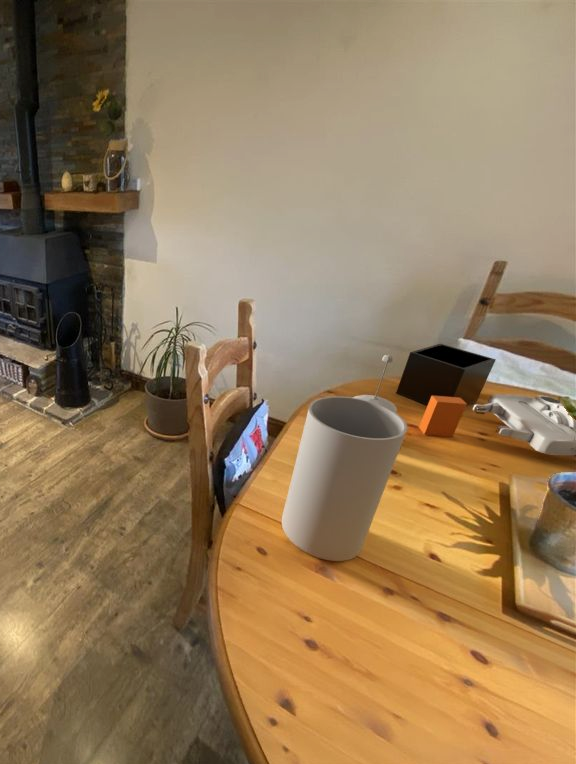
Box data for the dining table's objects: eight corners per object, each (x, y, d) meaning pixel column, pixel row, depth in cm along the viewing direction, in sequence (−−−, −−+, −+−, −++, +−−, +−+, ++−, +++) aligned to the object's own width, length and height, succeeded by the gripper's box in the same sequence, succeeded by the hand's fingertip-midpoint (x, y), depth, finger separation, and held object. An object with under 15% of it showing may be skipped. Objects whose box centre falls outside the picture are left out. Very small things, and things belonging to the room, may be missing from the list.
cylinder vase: (361, 524, 76) (403, 406, 65) (360, 575, 67) (410, 449, 55) (285, 501, 82) (312, 390, 71) (275, 545, 73) (305, 425, 62)
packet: (446, 430, 100) (460, 397, 96) (452, 437, 97) (467, 404, 93) (418, 427, 101) (431, 395, 97) (424, 434, 99) (437, 401, 95)
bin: (476, 402, 110) (496, 359, 104) (446, 414, 106) (465, 369, 100) (424, 383, 120) (440, 343, 114) (395, 393, 116) (410, 352, 110)
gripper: (595, 466, 83) (508, 457, 87) (528, 414, 100) (458, 409, 104) (612, 440, 80) (521, 432, 84) (540, 391, 97) (468, 386, 101)
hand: (486, 419), depth 94 cm, fingers open, 8 cm apart
